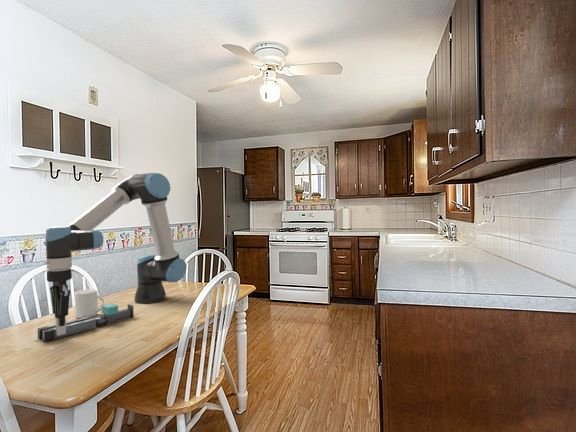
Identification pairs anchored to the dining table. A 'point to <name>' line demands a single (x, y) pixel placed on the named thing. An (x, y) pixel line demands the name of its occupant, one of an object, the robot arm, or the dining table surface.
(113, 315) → the tongs body
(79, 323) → the tongs jaw
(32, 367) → the dining table surface
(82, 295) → the mug
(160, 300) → the robot arm
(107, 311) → the tab
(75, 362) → the dining table surface
